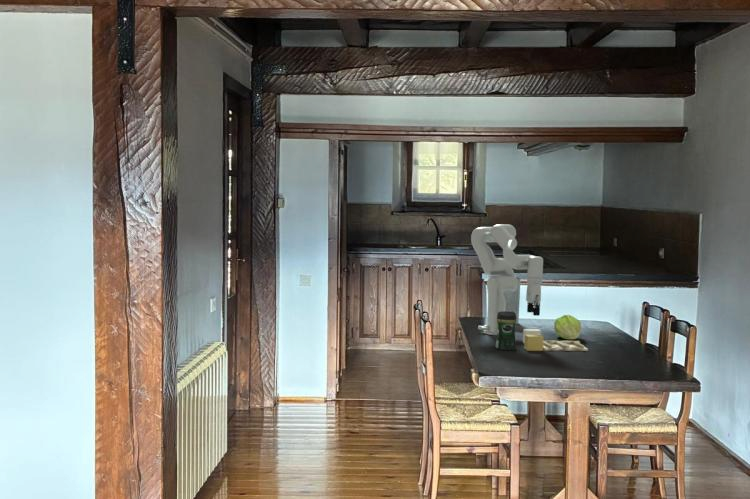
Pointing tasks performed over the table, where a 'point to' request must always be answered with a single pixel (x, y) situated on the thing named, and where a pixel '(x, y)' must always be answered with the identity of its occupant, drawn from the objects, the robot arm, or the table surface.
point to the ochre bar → (534, 342)
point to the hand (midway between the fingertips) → (533, 313)
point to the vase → (513, 300)
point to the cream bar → (530, 333)
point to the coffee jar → (506, 330)
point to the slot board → (563, 346)
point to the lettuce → (567, 327)
